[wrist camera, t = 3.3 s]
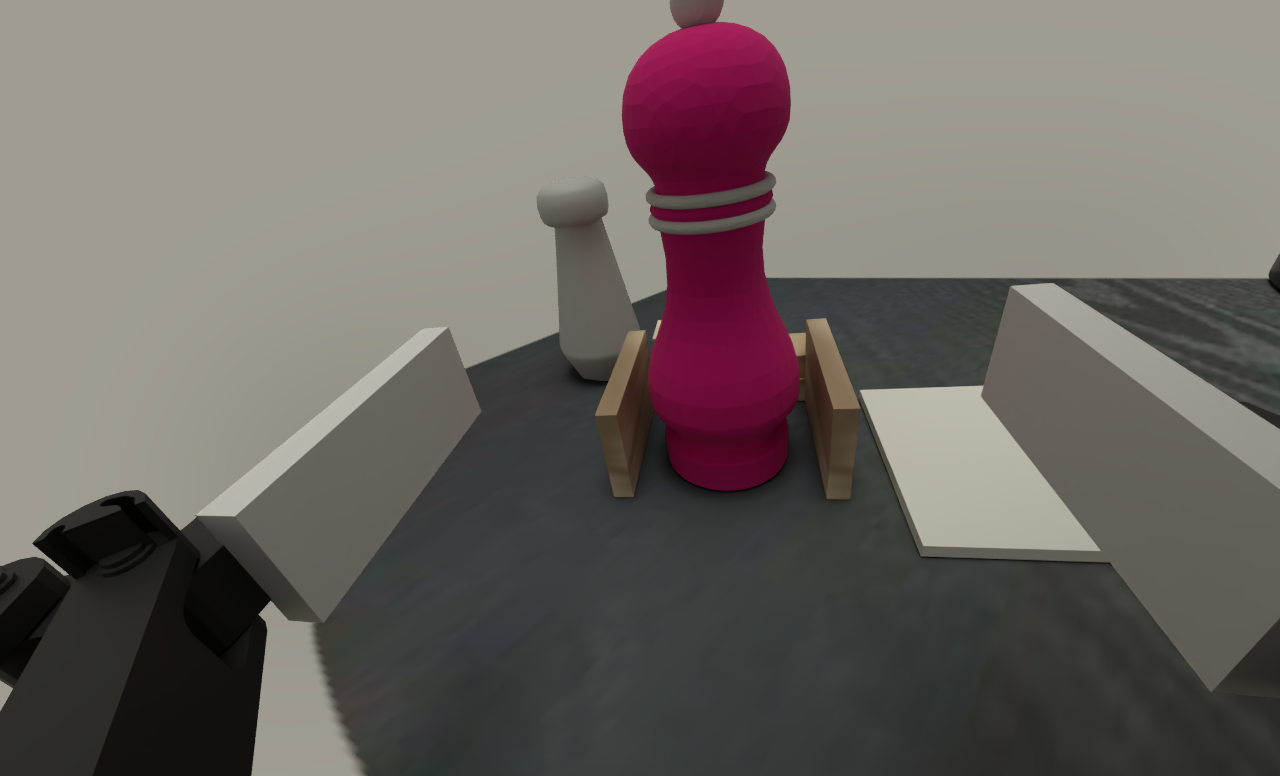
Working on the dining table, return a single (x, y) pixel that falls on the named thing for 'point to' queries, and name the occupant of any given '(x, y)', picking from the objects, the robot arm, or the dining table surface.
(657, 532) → the dining table surface
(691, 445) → the pepper mill
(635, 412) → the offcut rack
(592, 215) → the salt shaker
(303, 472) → the robot arm
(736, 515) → the dining table surface
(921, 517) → the mat
